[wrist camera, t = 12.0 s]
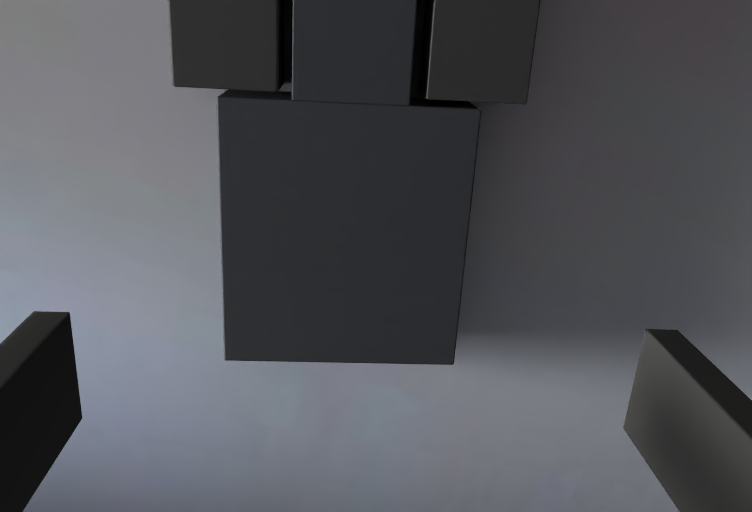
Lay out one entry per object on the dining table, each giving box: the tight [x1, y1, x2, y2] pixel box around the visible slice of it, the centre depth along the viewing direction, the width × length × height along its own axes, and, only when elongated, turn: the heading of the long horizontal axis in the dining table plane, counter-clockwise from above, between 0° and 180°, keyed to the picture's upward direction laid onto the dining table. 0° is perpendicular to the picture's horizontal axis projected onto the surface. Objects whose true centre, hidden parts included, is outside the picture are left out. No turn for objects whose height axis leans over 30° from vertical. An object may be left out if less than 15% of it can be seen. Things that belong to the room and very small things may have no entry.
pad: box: [217, 0, 481, 365], centre depth 24 cm, size 9×14×2 cm, turn 177°
